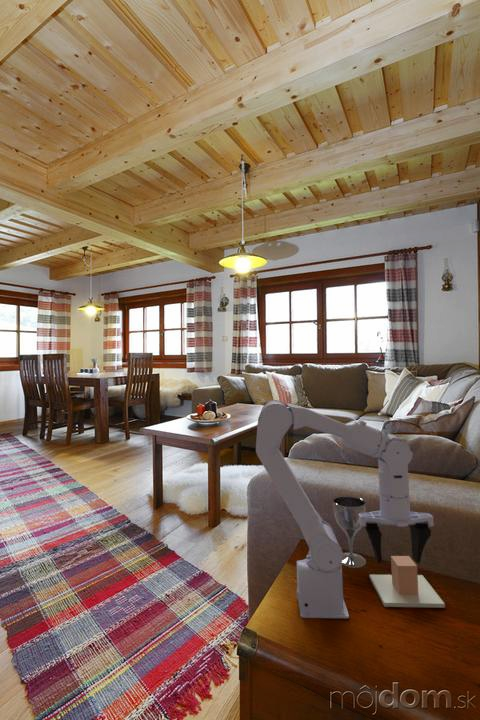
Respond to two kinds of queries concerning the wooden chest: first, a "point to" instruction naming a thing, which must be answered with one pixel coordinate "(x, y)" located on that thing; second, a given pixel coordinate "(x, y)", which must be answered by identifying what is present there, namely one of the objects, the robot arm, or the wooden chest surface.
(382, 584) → the mat
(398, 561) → the block
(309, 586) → the robot arm
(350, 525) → the wine glass
